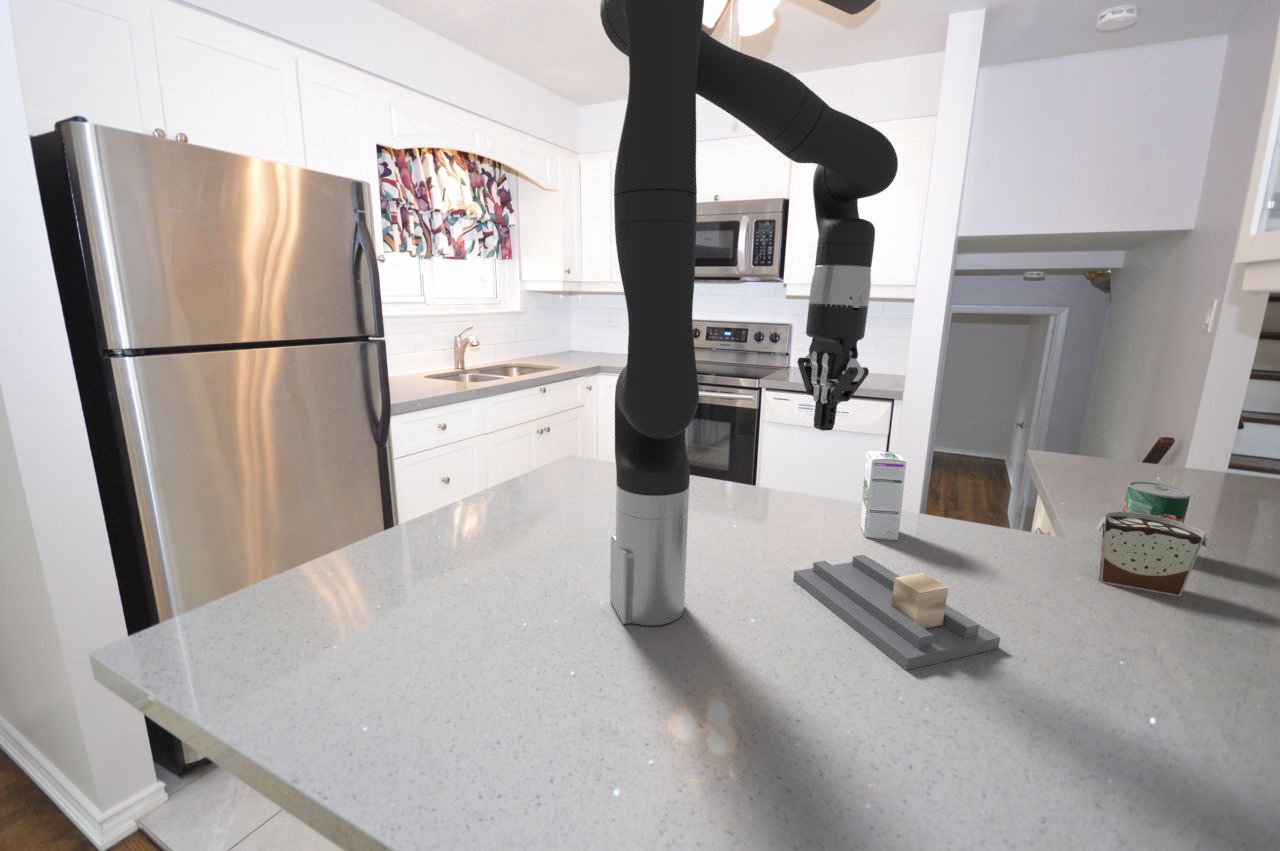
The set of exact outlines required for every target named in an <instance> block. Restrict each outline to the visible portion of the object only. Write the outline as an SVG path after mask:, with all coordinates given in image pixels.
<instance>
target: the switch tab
mask: <svg viewBox="0 0 1280 851" xmlns="http://www.w3.org/2000/svg"><path fill="white" fill-rule="evenodd" d="M948 592H949V587H948V586H946V585H945V584H942V583H941V582H939V581H937V580H935V579H934V578H933V577H930V576H929V575H927V574H925V573H924V572H920V573H914V574H908V575H903V576H900V577H895V581H894V589H893V597H892V605H891V606H892V607H894V608H895V609H896V610H898V611H899V612H901V613H902V614H904V615H905V616H907V617H908V618H910V619H911V620H913V621H914V622H915V623H917V624H918V625H920V626H921V627H923V628H924V629H925V628H930V627H935V626H939V625H943V619H944V613H945V606H946V605H947V598H948Z"/></svg>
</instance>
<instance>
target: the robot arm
mask: <svg viewBox="0 0 1280 851" xmlns="http://www.w3.org/2000/svg"><path fill="white" fill-rule="evenodd" d="M704 6H705V0H600V3H599V14H600V15H599V16H600V21H601V25H602V28H603V30H604V33H605V36H606V37H607V38H608V40H609V41H610V42H611V44H613V46H614V47H615V48H616V49H617V50H618V51H619V52H620V53H622V54H623V55H625V56H626V57H628V66H629V69H628V70H629V71H628V75H629V77H628V78H629V80H628V81H629V82H628V94H627V95H628V96H627V104H626V109H625V114H624V120H623V124H622V130H621V134H620V138H619V139H620V141H619V145H618V151H617V156H616V162H615V170H614V180H613V181H614V182H613V184H614V186H613V196H614V197H613V207H614V236H615V247H616V253H617V261H618V267H619V268H618V269H619V274H620V278H621V282H622V283H621V284H622V288H623V293H624V299H625V303H626V310H627V321H628V335H627V336H628V338H627V339H628V340H627V342H628V343H627V359H626V360H627V361H626V365H625V366H624V367H623V369H622V370H621V372H620V373H619V376H618V378H617V379H616V380H617V381H616V384H615V392H614V459H615V468H616V469H615V470H616V480H615V481H616V490H615V492H616V495H615V496H616V499H615V500H616V501H615V502H616V504H615V534H613V535H611V536H610V580H609V581H610V583H609V586H610V589H609V590H610V592H609V594H610V596H609V603H610V604H611V605H612V607H613V608H614V611H615V612H616V614H617V616H618V618H619V620H620V621H621V623H622V624H624V625H627V624H637V625H641V626H661V625H666V624H670V623H673V622H675V621H676V620H678V619H679V618H680V617H682V615H683V614H684V610H685V598H686V570H687V568H686V567H687V549H688V547H687V546H688V545H687V544H688V526H689V525H688V520H689V503H690V502H689V501H690V500H689V498H690V497H689V496H690V483H691V482H690V480H691V479H690V478H691V477H690V476H691V466H690V462H689V461H690V460H689V458H688V452H687V444H686V429H687V428H688V427H689V426H690V424H691V423H693V422H692V421H694V418H695V416H696V414H697V410H698V406H699V402H700V391H699V389H700V388H699V382H698V380H699V379H698V371H697V360H696V350H695V341H694V339H695V338H694V330H693V329H694V328H693V327H694V325H693V323H694V322H693V307H694V306H693V303H694V294H695V293H694V292H695V290H694V289H695V279H696V278H695V277H696V276H695V275H696V274H695V273H696V251H697V250H696V247H697V246H696V245H697V228H698V227H697V225H698V224H697V218H698V217H697V210H698V209H697V208H698V207H697V204H698V203H697V202H698V201H697V200H698V198H697V195H698V194H697V192H698V187H697V95H698V96H700V97H702V98H704V99H705V100H706V101H708V102H710V103H712V104H713V105H715V106H717V107H718V108H720V109H721V110H723V111H724V112H726V113H728V114H729V115H731V116H732V117H733V118H735V119H736V120H738V121H739V122H740V123H742V124H744V126H747V127H748V128H749V129H750V130H751V131H753V132H754V133H755V134H757V135H758V136H759V137H761V138H762V139H763V140H764V141H765V142H766V143H768V145H770V146H772V147H774V148H775V150H777V151H778V152H780V153H781V154H782V155H783V156H785V157H786V158H788V159H789V160H791V161H792V162H795V163H798V164H814V165H815V164H816V167H815V170H814V173H813V181H812V195H813V202H814V203H813V204H814V211H815V219H816V224H817V230H818V231H817V232H818V238H817V244H816V245H817V247H816V255H815V263H814V264H815V265H814V270H813V276H812V278H811V282H810V284H811V285H810V289H809V290H810V291H809V293H810V294H809V298H808V299H809V301H808V308H807V309H808V311H807V317H806V318H807V319H806V327H805V333H806V336H807V337H809V338H812V339H811V343H810V345H809V348H808V354H807V355H806V356H805V357H798V358H797V365H798V369H799V372H800V376H801V379H802V382H803V385H804V389H805V392H806V395H808V396H812V397H813V401H814V402H815V404H814V405H815V406H814V414H813V427H814V429H817V430H819V431H822V432H824V431H832V430H833V429H834V426H835V423H836V416H837V407H838V405H839V404H840V403H843V402H849V401H850V399H852V397H853V396H854V394H855V393H856V392H857V390H858V389H859V387H860V386H861V385H862V383H863V382H864V380H866V378H867V377H868V375H869V374H870V373H869V368H868V367H866V366H865V367H864V366H861V365H860V362H858V360H857V359H858V357H859V350H858V346H857V345H858V341H861V340H863V339H864V337H865V333H866V326H867V325H866V324H867V317H868V310H869V302H870V296H871V289H872V288H871V287H872V278H871V276H872V275H871V274H872V273H871V272H872V264H873V254H874V251H875V250H874V249H875V248H874V247H875V239H876V229H875V225H874V224H873V223H872V222H871V221H870V220H867V219H864V218H860V214H859V207H858V204H859V202H858V200H859V199H864V198H868V197H873V196H876V195H878V194H881V193H882V192H884V191H885V190H886V189H888V188H889V187H890V186H891V184H892V183H893V182H894V180H895V179H896V175H897V173H898V166H899V161H898V155H897V151H896V149H895V148H894V147H895V146H893V144H892V142H891V141H890V140H889V138H887V136H885V134H883V133H882V132H881V131H880V130H878V129H876V128H875V127H873V126H871V125H869V124H868V123H865V122H864V121H861V120H859V119H858V118H855V117H853V116H852V115H849V114H846V113H844V112H842V111H839V110H837V109H834V108H832V107H831V106H829V105H828V103H827V102H825V100H823V98H821V96H819V95H818V94H816V93H815V92H814V91H813V90H812V89H810V88H809V87H808V86H807V85H806V84H805V83H804V82H802V81H801V80H800V79H799V78H797V77H796V76H795V75H793V74H792V73H790V72H789V71H787V70H785V69H783V68H781V67H779V66H777V65H774V64H773V63H771V62H768V61H765V60H762V59H760V58H757V57H755V56H751V55H748V54H745V53H743V52H741V51H739V50H736V49H734V48H732V47H729V46H727V45H726V44H724V43H722V42H720V41H718V40H717V39H716V38H714V37H713V36H711V35H710V34H708V33H707V32H706V31H704V30H703V29H702V28H703V27H702V26H703V17H704V16H703V15H704Z"/></svg>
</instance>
